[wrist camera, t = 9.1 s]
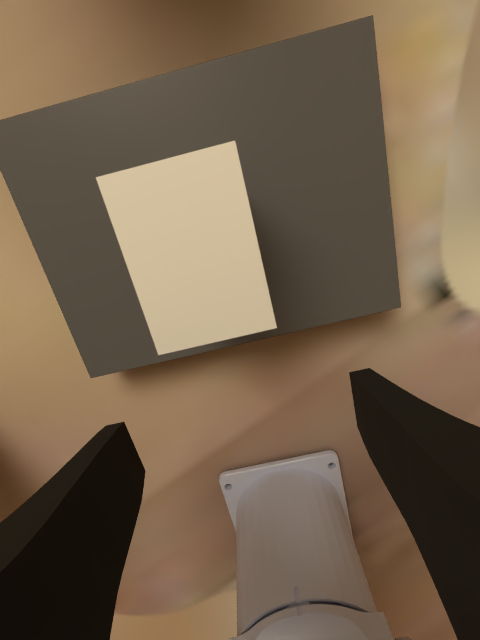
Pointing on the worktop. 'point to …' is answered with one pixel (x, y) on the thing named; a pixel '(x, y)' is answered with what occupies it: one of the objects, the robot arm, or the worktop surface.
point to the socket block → (259, 177)
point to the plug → (191, 247)
